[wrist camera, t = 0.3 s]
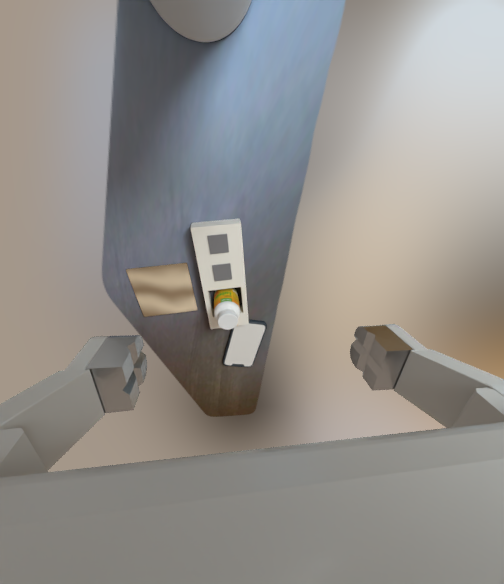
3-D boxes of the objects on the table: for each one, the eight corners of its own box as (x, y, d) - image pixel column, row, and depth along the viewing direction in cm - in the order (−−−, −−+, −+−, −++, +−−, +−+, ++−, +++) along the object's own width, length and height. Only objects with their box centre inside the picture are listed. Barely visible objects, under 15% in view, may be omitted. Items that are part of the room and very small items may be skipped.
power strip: (191, 222, 44) (190, 228, 41) (239, 218, 45) (241, 223, 42) (210, 320, 57) (210, 330, 55) (247, 316, 58) (249, 325, 55)
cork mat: (126, 269, 47) (126, 270, 47) (186, 262, 49) (186, 263, 48) (144, 315, 54) (144, 316, 54) (197, 309, 55) (197, 310, 55)
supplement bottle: (231, 281, 52) (234, 306, 44) (241, 298, 55) (246, 325, 47) (209, 290, 53) (208, 317, 45) (220, 307, 56) (222, 336, 48)
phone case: (233, 316, 59) (221, 361, 66) (234, 320, 57) (221, 365, 65) (267, 320, 61) (251, 363, 68) (268, 324, 59) (252, 367, 67)
